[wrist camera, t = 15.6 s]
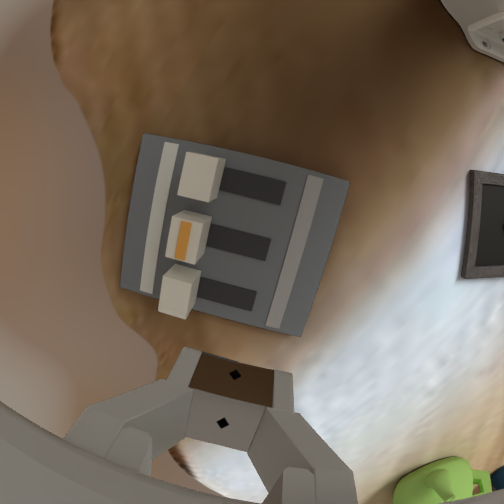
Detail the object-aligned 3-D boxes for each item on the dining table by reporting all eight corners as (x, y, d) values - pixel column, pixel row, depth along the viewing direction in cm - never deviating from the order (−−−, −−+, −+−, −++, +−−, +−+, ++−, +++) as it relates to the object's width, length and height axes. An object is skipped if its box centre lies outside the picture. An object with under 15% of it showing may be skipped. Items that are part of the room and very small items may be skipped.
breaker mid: (212, 216, 33) (202, 224, 29) (204, 253, 34) (194, 265, 30) (184, 209, 33) (171, 216, 29) (177, 246, 34) (164, 257, 30)
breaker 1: (201, 270, 34) (191, 284, 30) (195, 303, 35) (185, 319, 31) (175, 263, 34) (162, 275, 30) (169, 296, 35) (158, 311, 32)
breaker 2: (226, 159, 31) (218, 158, 27) (217, 197, 32) (208, 202, 28) (197, 152, 31) (186, 151, 27) (189, 191, 32) (177, 194, 28)
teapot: (423, 501, 48) (436, 546, 34) (364, 494, 47) (372, 550, 33) (482, 452, 43) (505, 498, 29) (430, 441, 42) (454, 500, 28)
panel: (346, 180, 33) (350, 181, 30) (299, 328, 38) (300, 338, 36) (150, 134, 33) (142, 133, 31) (127, 281, 38) (119, 287, 36)
